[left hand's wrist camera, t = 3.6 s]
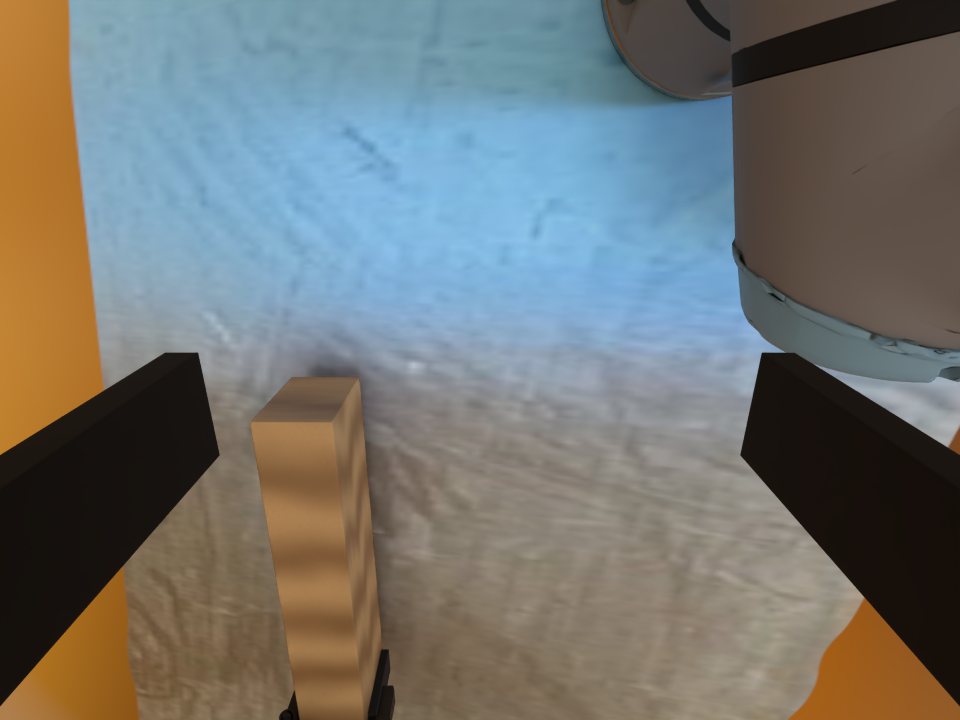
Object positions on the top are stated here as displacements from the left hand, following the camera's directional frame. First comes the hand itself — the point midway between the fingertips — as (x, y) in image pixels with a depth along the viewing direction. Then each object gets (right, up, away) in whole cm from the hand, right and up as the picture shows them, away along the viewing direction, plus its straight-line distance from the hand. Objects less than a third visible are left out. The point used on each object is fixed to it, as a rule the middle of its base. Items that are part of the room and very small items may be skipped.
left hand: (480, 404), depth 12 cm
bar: (-13, -16, +36) cm, 41 cm away
